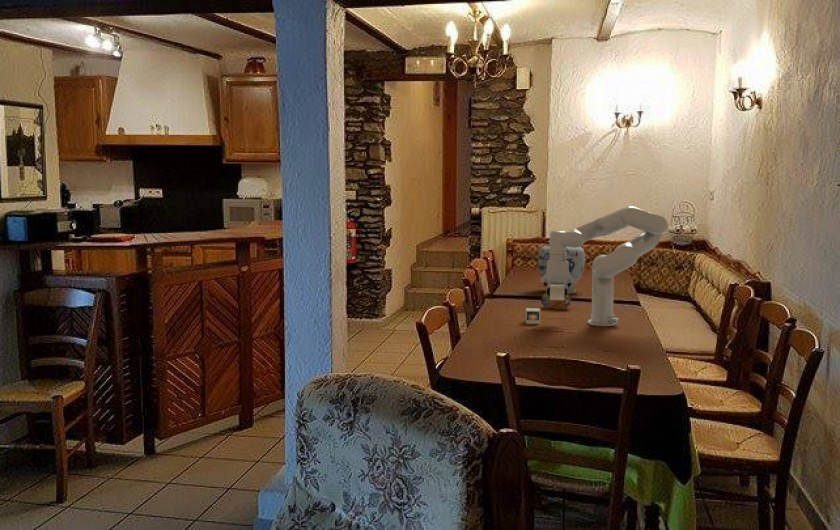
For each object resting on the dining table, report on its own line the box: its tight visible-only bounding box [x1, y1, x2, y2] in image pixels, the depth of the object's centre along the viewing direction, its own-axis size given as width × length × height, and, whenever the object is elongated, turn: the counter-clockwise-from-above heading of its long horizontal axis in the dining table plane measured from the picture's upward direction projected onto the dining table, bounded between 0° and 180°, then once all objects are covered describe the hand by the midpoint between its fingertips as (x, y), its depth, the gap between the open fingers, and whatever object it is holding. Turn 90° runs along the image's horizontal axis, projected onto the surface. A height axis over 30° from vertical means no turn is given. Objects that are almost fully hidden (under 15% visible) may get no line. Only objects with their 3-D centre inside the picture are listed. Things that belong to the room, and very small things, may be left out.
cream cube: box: [550, 285, 564, 300], centre depth 338 cm, size 6×6×6 cm
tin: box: [541, 292, 572, 310], centre depth 377 cm, size 15×3×8 cm, turn 62°
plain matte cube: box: [525, 307, 541, 325], centre depth 342 cm, size 6×6×6 cm
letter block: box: [529, 313, 537, 320], centre depth 342 cm, size 4×4×4 cm
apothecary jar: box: [537, 240, 586, 295], centre depth 429 cm, size 27×27×30 cm
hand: (557, 296), depth 339 cm, fingers closed on cream cube, 6 cm apart
